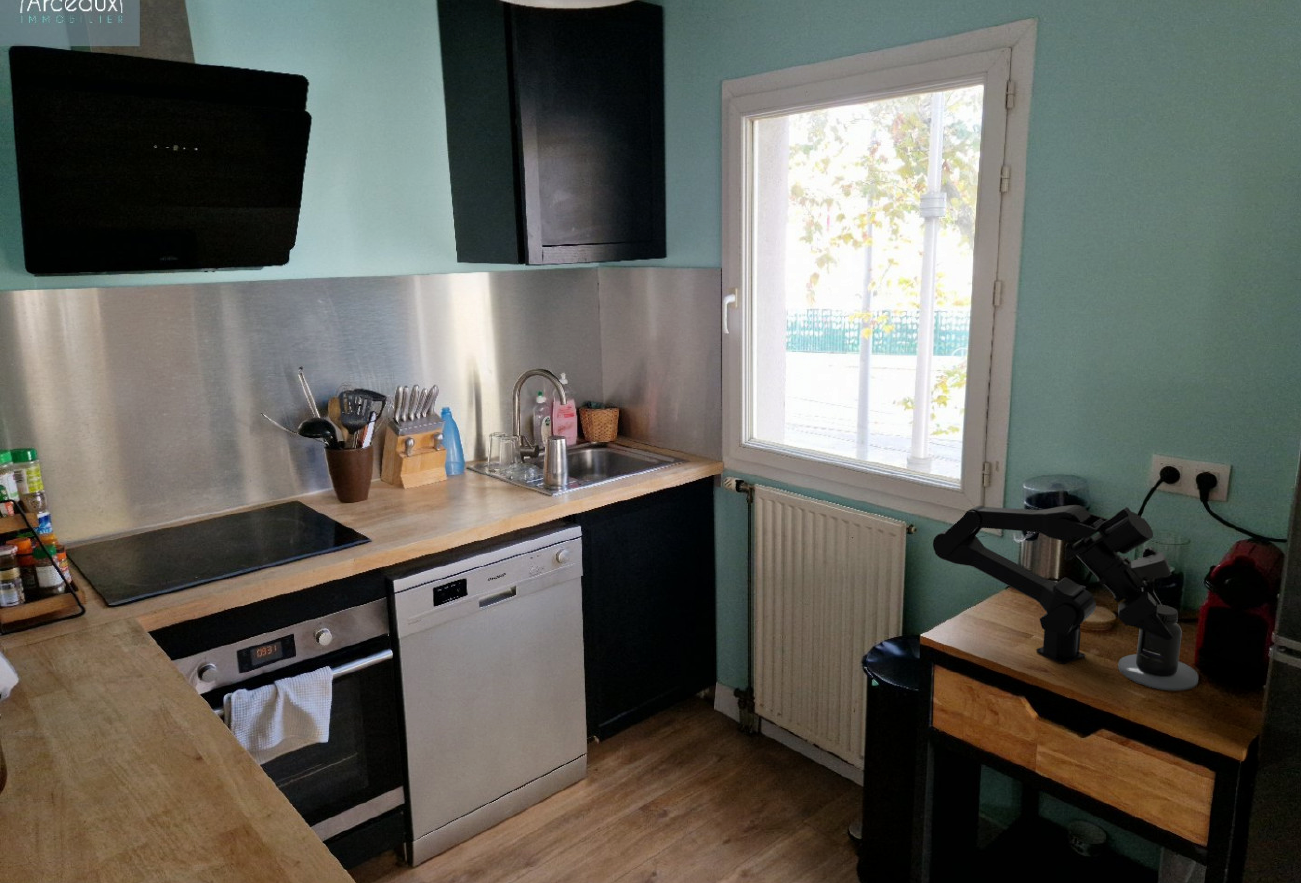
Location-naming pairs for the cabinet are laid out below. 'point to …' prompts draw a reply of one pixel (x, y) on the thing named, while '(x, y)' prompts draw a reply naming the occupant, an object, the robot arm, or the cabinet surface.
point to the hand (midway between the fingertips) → (1169, 628)
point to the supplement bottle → (1160, 646)
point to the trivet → (1176, 682)
